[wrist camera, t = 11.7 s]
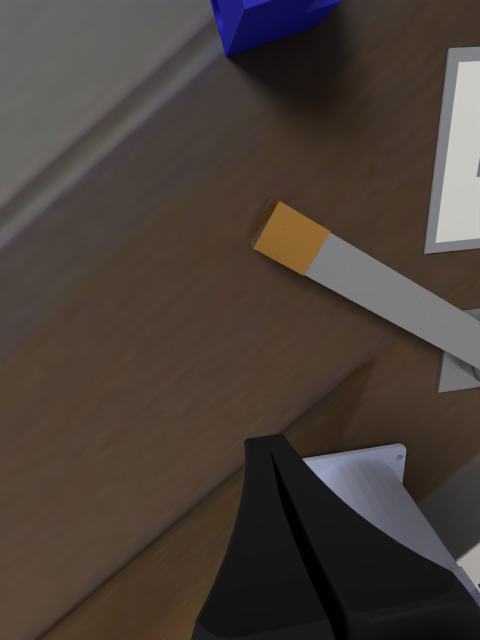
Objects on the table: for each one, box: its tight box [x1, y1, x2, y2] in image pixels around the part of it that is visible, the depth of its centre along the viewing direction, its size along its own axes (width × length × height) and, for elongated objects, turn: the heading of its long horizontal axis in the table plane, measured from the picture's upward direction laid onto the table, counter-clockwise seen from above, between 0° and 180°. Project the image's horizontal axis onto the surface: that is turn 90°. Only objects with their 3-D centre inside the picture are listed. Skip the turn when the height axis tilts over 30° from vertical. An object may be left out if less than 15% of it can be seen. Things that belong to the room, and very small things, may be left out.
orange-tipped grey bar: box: [246, 197, 480, 382], centre depth 22 cm, size 20×4×2 cm, turn 61°
